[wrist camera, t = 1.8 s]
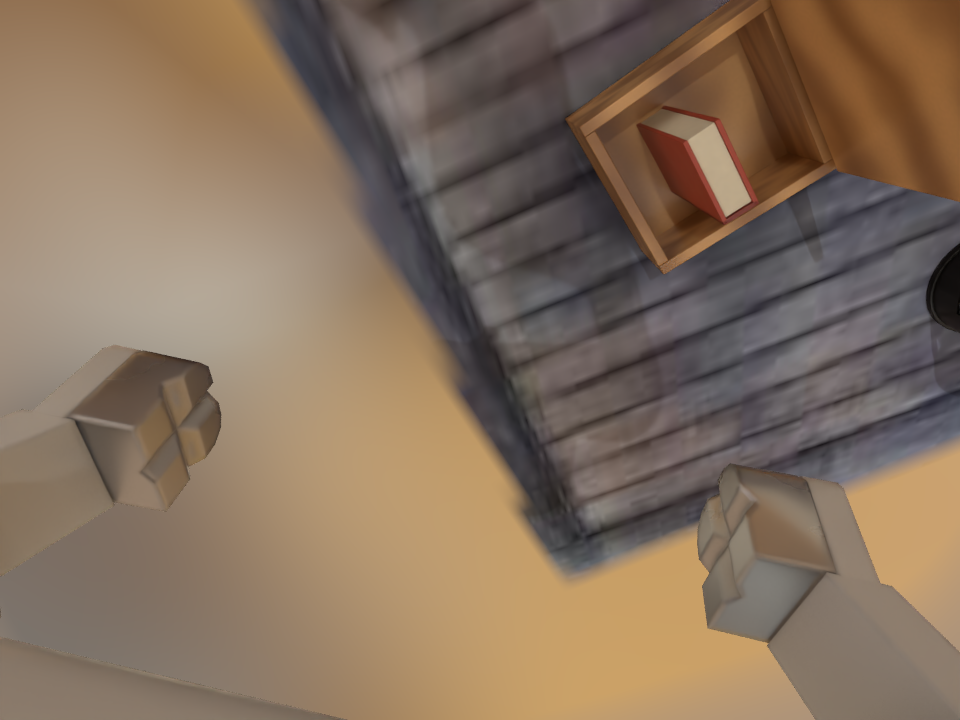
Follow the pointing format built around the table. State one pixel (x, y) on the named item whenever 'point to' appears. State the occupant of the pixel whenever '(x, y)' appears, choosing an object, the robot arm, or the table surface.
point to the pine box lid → (883, 86)
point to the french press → (946, 291)
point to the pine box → (713, 92)
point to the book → (699, 162)
